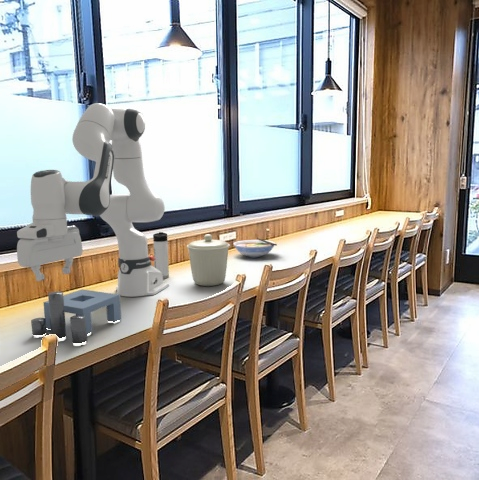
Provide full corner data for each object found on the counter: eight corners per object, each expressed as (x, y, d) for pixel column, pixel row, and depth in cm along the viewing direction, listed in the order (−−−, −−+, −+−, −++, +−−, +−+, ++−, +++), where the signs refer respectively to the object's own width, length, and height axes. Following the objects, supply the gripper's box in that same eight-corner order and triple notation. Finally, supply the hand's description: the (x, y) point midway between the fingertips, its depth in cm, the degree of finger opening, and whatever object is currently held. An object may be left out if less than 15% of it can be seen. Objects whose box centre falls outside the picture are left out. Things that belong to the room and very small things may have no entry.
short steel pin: (40, 332, 142) (39, 316, 141) (49, 334, 140) (48, 318, 139) (29, 337, 138) (28, 320, 138) (39, 339, 137) (37, 322, 136)
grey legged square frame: (83, 315, 158) (82, 289, 156) (121, 321, 151) (119, 294, 149) (45, 330, 144) (43, 302, 142) (84, 338, 137) (82, 308, 135)
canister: (204, 276, 210) (202, 230, 207) (238, 281, 201) (237, 232, 197) (179, 285, 195) (177, 235, 191) (215, 291, 186) (213, 238, 182)
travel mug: (169, 275, 213) (168, 232, 210) (168, 278, 206) (166, 234, 203) (156, 275, 213) (154, 232, 210) (153, 279, 206) (151, 234, 203)
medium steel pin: (79, 340, 135) (77, 314, 134) (90, 342, 133) (88, 315, 132) (69, 345, 131) (67, 318, 130) (79, 347, 130) (77, 320, 128)
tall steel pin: (59, 336, 138) (56, 290, 136) (69, 338, 137) (66, 292, 134) (48, 341, 135) (44, 294, 133) (58, 343, 133) (55, 295, 131)
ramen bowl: (227, 253, 262) (227, 239, 261) (265, 251, 269) (265, 237, 267) (241, 262, 238) (241, 246, 237) (282, 259, 245) (282, 243, 244)
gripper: (70, 224, 141) (73, 268, 143) (11, 232, 123) (15, 283, 125) (86, 225, 138) (88, 270, 140) (28, 233, 120) (32, 286, 122)
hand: (53, 276), depth 133 cm, fingers open, 8 cm apart
